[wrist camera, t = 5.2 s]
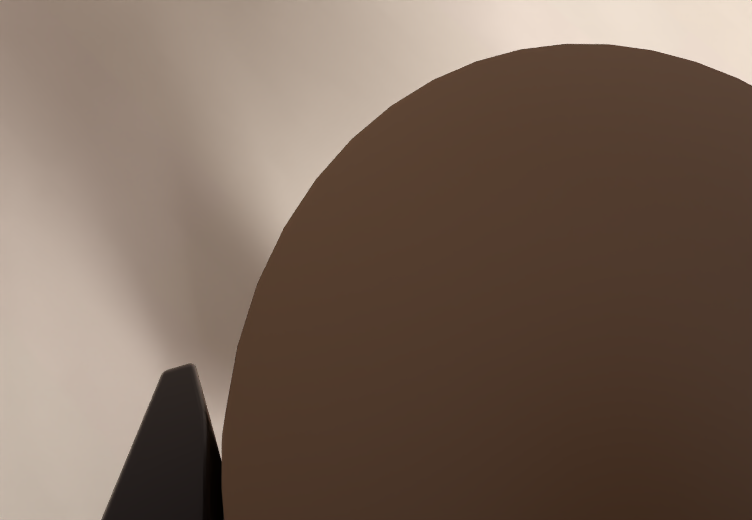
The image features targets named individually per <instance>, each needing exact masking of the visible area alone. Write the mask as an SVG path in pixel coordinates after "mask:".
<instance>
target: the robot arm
mask: <svg viewBox="0 0 752 520" xmlns="http://www.w3.org/2000/svg"><path fill="white" fill-rule="evenodd" d="M101 520H224V511H223V498H222V461H221V458H220V454H219V450H218V446H217V442H216V439H215V435H214V431H213V427H212V424H211V420H210V416H209V412H208V409H207V405H206V402H205V398H204V394H203V391H202V387H201V384H200V380H199V376H198V373H197V369H196V367H195V365H194V364H191V363H190V364H186V365H182V366H179V367H176V368H172V369H169V370H166V371H164V372H163V373H162V375H161V377H160V379H159V382H158V384H157V387H156V389H155V391H154V394H153V396H152V399H151V401H150V403H149V406H148V408H147V411H146V413H145V416H144V418H143V420H142V423H141V425H140V428H139V430H138V432H137V435H136V437H135V440H134V442H133V444H132V447H131V449H130V452H129V454H128V457H127V459H126V461H125V464H124V466H123V469H122V471H121V473H120V476H119V478H118V481H117V483H116V485H115V488H114V490H113V493H112V495H111V498H110V500H109V502H108V505H107V507H106V510H105V512H104V514H103V517H102V519H101Z"/></svg>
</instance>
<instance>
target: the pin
mask: <svg viewBox="0 0 752 520" xmlns="http://www.w3.org/2000/svg"><path fill="white" fill-rule="evenodd" d="M222 498H223V511H224V520H752V86H751V85H749V84H747V83H746V82H744V81H742V80H740V79H738V78H735V77H733V76H730V75H728V74H725V73H723V72H720V71H718V70H715V69H713V68H710V67H707V66H705V65H702V64H700V63H697V62H694V61H690V60H687V59H683V58H679V57H675V56H672V55H668V54H664V53H660V52H656V51H652V50H645V49H638V48H631V47H624V46H616V45H608V44H561V45H553V46H545V47H537V48H529V49H521V50H517V51H513V52H510V53H506V54H502V55H498V56H495V57H491V58H487V59H484V60H480V61H476V62H474V63H472V64H469V65H467V66H465V67H462V68H460V69H458V70H455V71H453V72H451V73H448V74H446V75H444V76H441V77H439V78H437V79H434V80H432V81H431V82H429V83H428V84H426V85H424V86H423V87H421V88H419V89H418V90H416V91H415V92H413V93H411V94H410V95H408V96H406V97H405V98H403V99H402V100H400V101H398V102H397V103H395V104H394V105H392V106H391V107H389V108H388V109H387V110H386V111H385V112H383V113H382V114H381V115H380V116H379V117H377V118H376V119H375V120H374V121H373V122H372V123H370V124H369V125H368V126H367V127H366V128H364V129H363V130H362V131H361V132H360V133H358V134H357V135H356V136H355V137H354V138H353V139H351V141H350V142H349V143H348V144H347V145H346V146H345V147H344V149H343V150H342V151H341V152H340V153H339V154H338V155H337V156H336V158H335V159H334V160H333V161H332V162H331V163H330V164H329V165H328V167H327V168H326V169H325V170H324V171H323V172H322V173H321V174H320V176H319V177H318V178H317V179H316V180H315V182H314V183H313V185H312V186H311V188H310V189H309V191H308V192H307V194H306V195H305V197H304V198H303V200H302V201H301V203H300V204H299V206H298V207H297V209H296V210H295V212H294V213H293V215H292V217H291V218H290V220H289V221H288V223H287V224H286V226H285V227H284V229H283V231H282V233H281V235H280V237H279V239H278V242H277V244H276V246H275V248H274V250H273V252H272V254H271V256H270V258H269V260H268V263H267V265H266V267H265V269H264V271H263V273H262V275H261V277H260V279H259V281H258V284H257V287H256V290H255V293H254V296H253V299H252V302H251V305H250V309H249V312H248V315H247V318H246V321H245V324H244V327H243V331H242V334H241V337H240V340H239V343H238V346H237V352H236V357H235V363H234V369H233V374H232V380H231V385H230V391H229V397H228V402H227V408H226V413H225V420H224V426H223V433H222Z"/></svg>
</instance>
